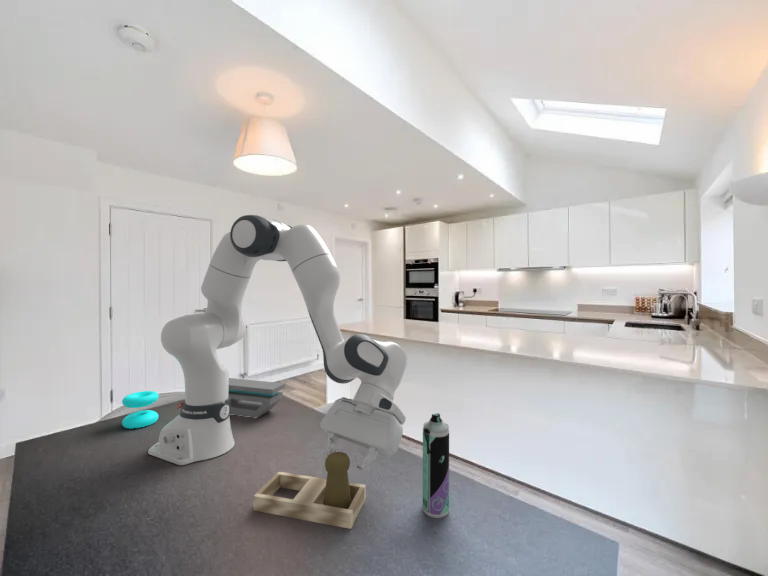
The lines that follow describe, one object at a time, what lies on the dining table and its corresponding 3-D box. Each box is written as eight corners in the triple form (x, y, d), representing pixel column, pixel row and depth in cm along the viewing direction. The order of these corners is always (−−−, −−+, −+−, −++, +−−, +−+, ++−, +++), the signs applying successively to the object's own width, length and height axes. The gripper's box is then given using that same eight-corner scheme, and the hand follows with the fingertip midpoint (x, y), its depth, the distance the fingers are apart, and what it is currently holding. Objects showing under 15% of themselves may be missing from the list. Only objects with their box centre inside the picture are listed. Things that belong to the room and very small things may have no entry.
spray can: (443, 522, 66) (443, 421, 66) (418, 512, 69) (418, 415, 69) (452, 506, 71) (453, 412, 70) (429, 497, 73) (429, 407, 73)
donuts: (159, 388, 119) (157, 396, 111) (159, 416, 119) (157, 426, 111) (124, 392, 114) (119, 401, 106) (124, 421, 114) (119, 432, 106)
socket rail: (253, 510, 69) (253, 496, 69) (278, 484, 78) (278, 471, 78) (351, 529, 64) (351, 513, 64) (365, 498, 73) (365, 484, 73)
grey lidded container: (285, 412, 123) (285, 383, 123) (272, 420, 115) (272, 389, 115) (229, 405, 130) (229, 377, 130) (213, 413, 123) (214, 383, 122)
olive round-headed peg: (347, 518, 66) (347, 463, 66) (318, 515, 67) (318, 460, 67) (355, 499, 72) (355, 449, 72) (328, 496, 73) (328, 446, 73)
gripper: (332, 389, 83) (302, 443, 75) (402, 406, 72) (375, 472, 64) (344, 402, 87) (316, 454, 79) (412, 420, 76) (388, 483, 68)
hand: (343, 462), depth 71 cm, fingers open, 8 cm apart
